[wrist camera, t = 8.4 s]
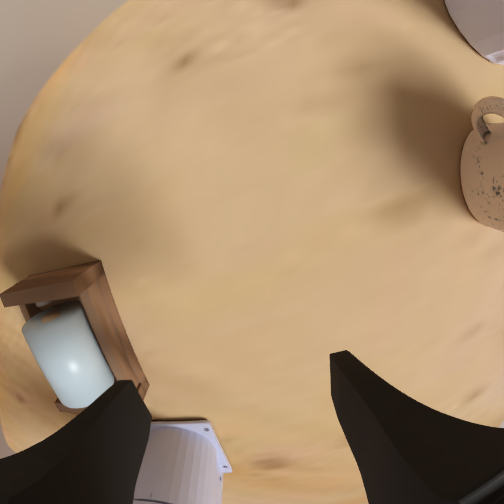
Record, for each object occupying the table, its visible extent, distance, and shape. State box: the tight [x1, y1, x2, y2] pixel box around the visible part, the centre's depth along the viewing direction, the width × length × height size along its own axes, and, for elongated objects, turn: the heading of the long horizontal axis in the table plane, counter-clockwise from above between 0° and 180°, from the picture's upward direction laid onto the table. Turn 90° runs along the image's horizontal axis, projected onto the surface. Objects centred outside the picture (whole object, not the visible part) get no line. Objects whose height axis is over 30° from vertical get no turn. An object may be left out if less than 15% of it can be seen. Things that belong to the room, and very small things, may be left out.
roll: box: [22, 302, 114, 408], centre depth 16 cm, size 6×5×5 cm
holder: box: [0, 260, 149, 414], centre depth 18 cm, size 11×8×4 cm
